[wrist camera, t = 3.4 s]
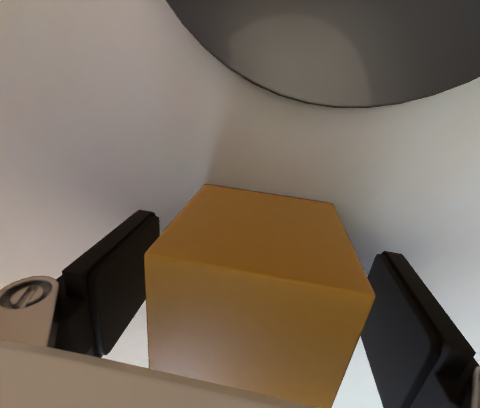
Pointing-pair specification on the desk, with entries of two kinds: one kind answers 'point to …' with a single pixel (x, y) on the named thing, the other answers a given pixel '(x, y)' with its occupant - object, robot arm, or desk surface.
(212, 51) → the lid
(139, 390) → the robot arm
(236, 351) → the block
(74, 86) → the desk surface
